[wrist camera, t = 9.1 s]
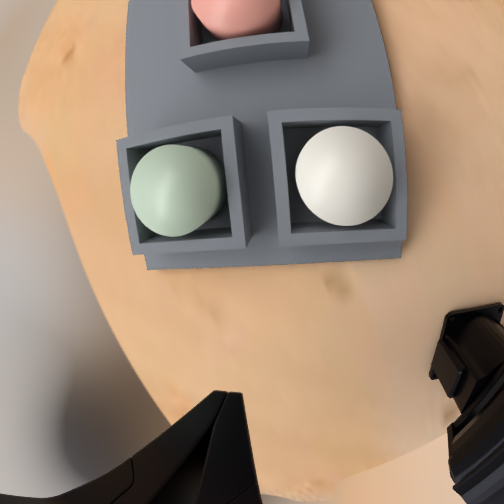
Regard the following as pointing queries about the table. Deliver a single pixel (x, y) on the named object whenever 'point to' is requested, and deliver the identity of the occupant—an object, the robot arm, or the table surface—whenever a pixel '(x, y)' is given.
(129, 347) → the table surface
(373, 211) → the button ivory
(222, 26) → the button coral
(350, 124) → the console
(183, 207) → the button sage
